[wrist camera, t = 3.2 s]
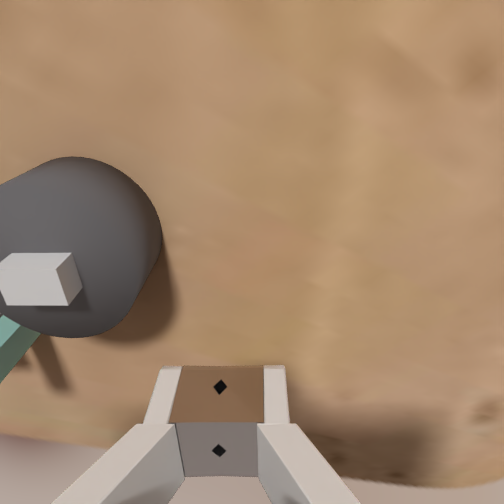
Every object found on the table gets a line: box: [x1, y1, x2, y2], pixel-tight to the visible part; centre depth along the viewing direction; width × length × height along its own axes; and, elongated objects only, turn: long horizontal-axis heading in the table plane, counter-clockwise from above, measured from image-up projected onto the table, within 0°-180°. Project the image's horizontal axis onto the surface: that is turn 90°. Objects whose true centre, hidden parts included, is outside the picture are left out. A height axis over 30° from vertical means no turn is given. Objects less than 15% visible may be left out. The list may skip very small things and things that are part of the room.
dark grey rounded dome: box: [0, 157, 162, 338], centre depth 16 cm, size 7×7×5 cm
